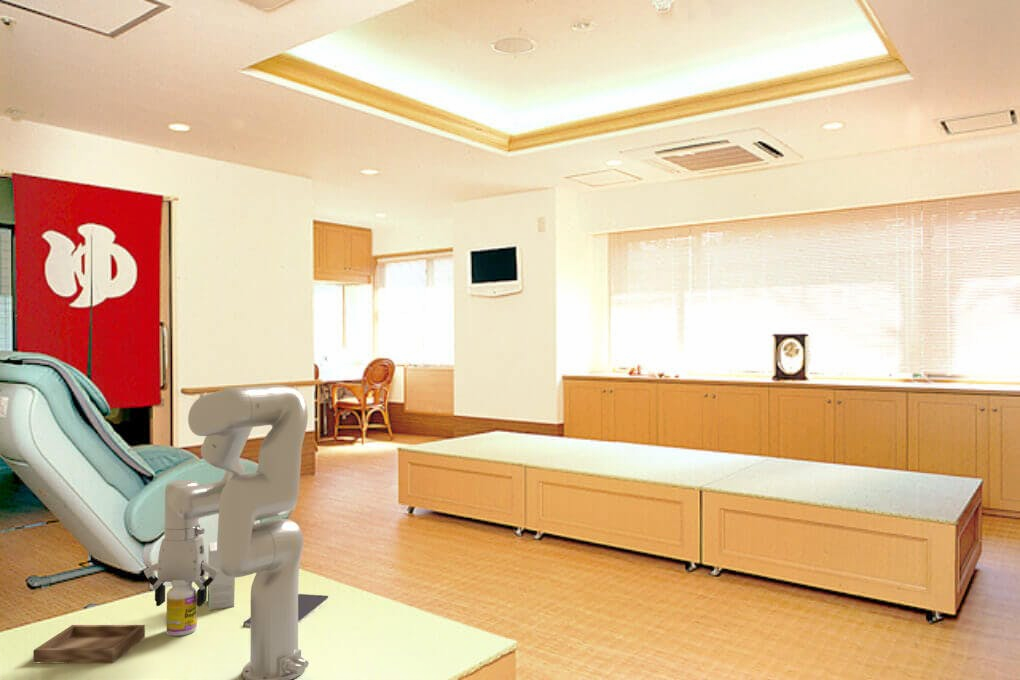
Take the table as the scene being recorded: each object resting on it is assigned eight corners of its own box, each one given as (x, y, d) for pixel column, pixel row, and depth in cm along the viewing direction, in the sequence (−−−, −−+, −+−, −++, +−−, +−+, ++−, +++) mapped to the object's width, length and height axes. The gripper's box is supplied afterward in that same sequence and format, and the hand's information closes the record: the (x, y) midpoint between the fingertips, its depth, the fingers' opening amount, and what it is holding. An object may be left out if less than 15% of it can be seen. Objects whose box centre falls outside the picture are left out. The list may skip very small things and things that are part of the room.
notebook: (285, 598, 198) (243, 628, 177) (285, 592, 198) (243, 622, 177) (329, 601, 196) (291, 632, 175) (329, 595, 196) (291, 625, 175)
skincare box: (207, 600, 195) (207, 542, 195) (233, 596, 198) (233, 539, 198) (208, 610, 188) (208, 550, 188) (236, 606, 190) (236, 547, 190)
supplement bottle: (185, 638, 170) (185, 583, 170) (160, 635, 171) (160, 581, 172) (202, 627, 177) (202, 574, 177) (178, 625, 178) (178, 572, 178)
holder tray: (144, 636, 171) (144, 624, 171) (112, 662, 157) (112, 649, 157) (72, 637, 171) (72, 625, 171) (33, 663, 157) (33, 650, 157)
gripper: (224, 529, 178) (223, 599, 178) (153, 528, 178) (152, 598, 178) (211, 538, 171) (210, 610, 171) (137, 536, 170) (136, 609, 171)
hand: (180, 604), depth 174 cm, fingers open, 9 cm apart
